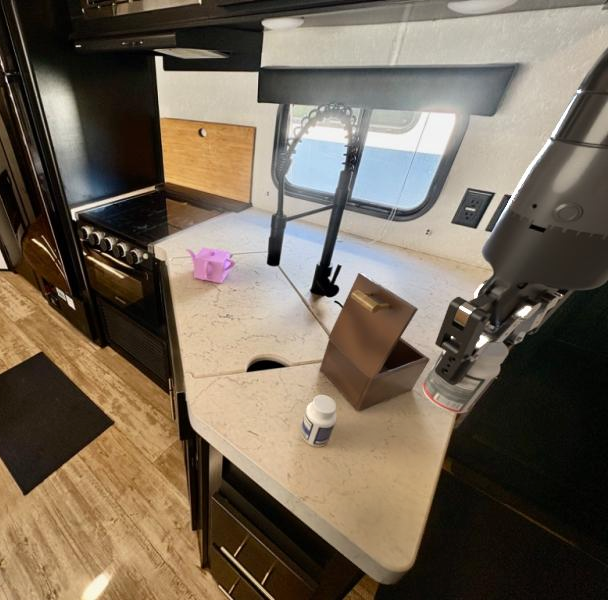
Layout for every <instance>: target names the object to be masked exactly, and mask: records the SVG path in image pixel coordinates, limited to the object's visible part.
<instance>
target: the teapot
mask: <svg viewBox="0 0 608 600" xmlns="http://www.w3.org/2000/svg"><path fill="white" fill-rule="evenodd" d="M185 251H186V252H188V253H189V255H190V257H191V262H192V264H193V278H194V279H198V280H201V281H210V282H213V283H215V284H216V283H218V284H222V283H223V282H224V280H225V279H226V277H227V275H228V274H229V272H230V269H233V268H234V267H235V265H236V261H235V260H234V259H231V252H230V251H227V250H222V249H220V248H216V249H215V248H210V247H204V246H203V247H202V248H201V249H200V250H199V251H198V252H197V253H196V254H195V252H194V251H193V250H192V249H188V248H186V249H185Z"/></svg>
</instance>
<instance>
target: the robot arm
mask: <svg viewBox="0 0 608 600" xmlns="http://www.w3.org/2000/svg"><path fill="white" fill-rule="evenodd" d="M481 254H482V257H483V259H484V260H485V261H486V262H487V263H488V264H489V265H490V267H491V268H492V271H493V274H491V275H490V276H489V277H488V279H485V280H484V281H483V282H482V283H481V284H480V285H479V286H478V288H476V290H475V291H474V293H473V295H474V297H473V298H472V299H471V300H466V299H465V298H463V297H461V296H456V297H454V298H453V299H452V300H451V301H450V303H449V304H448V306H447V309H446V312H445V315H444V318H443V321H442V323H441V326H440V329H439V332H438V334H437V337H436V340H435V341H434V342H435V343H434V344H435V345H436V346H437V347H438V348H440V349H442V350H445V351H446V352H445V354H444V355H443V357H442V358H441V360H440V362H439V363H438V365H437V366H436V368H435V372H436V374H437V375H439V376H440V377H441V378H442V379H444V380H445V381H446V382H448V383H449V384H451V385H456V384H458V383H460V382H461V381H462V380H463V378H464V377H465V375H466V374H467V373H468V371H469V370H470V368H471V367H472V366H473V364H474V363H475V361H476V360H477V359H478V358H479V357H480V355H481V354H482V353H483V352H484V351H485V350H486V349H487V348H488V346H489V345H490V344H491V343H501V342H503V343H504V344H505V345H506V347H507V348H508V351H510V350H511V348H512V347H513V346H514V345H517V344H519V343H521V342H522V341H523V340H524V337H525V335H526V334H527V335H530V336H531V335H533V334H536V333H537V332H539V329H540V328H541V327H542V326H543V325H544V323H546V321H547V320H548V319H549V318H550V317H551V316H552V315H553V314H554V313H555V312H556V311H557V310H558V308H559V307H560V306H561V305H562V304H563V303H564V302H565V301H566V300H567V299H568V298H569V297H570V296H571V295H572V293H574V292H576V291H588V290H593V289H596V288H599V287H601V286H602V285H605V283H607V281H608V46H607V47H606V48H605V49H604V50H603V52H602V53H601V54H599V56H598V58H597V59H596V60H595V62H594V63H593V64H592V66H591V67H590V69H589V70H588V71H587V72H586V75H585V76H584V77H583V79H582V81H581V82H580V84H579V86H578V87H577V89H576V91H575V93H574V94H573V96H572V98H571V99H570V101H569V103H568V105H567V106H566V108H565V110H564V112H563V113H562V115H561V116H560V119H559V120H558V122H557V124H556V125H555V127H554V128H553V131H552V132H551V135H550V137H549V138H548V140H547V141H546V143H545V144H544V146H543V147H542V149H541V150H540V152H539V153H538V154H537V156H536V157H535V158H534V159H533V160H532V162H531V163H530V165H529V166H528V168H527V169H526V171H525V173H524V174H523V176H522V178H521V179H520V181H519V182H518V184H517V186H516V188H515V189H514V192H513V193H512V195H511V197H510V198H509V200H508V203H507V204H506V206H505V207H504V209H503V211H502V213H501V214H500V216H499V218H498V220H497V222H496V223H495V225H494V227H493V229H492V231H491V232H490V234H489V236H488V238H487V239H486V241H485V243H484V245H483V247H482V249H481ZM486 326H488V327H486ZM479 338H480V341H479V342H478V340H479ZM477 342H478V343H477Z"/></svg>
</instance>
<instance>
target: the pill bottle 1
mask: <svg viewBox="0 0 608 600" xmlns="http://www.w3.org/2000/svg"><path fill="white" fill-rule="evenodd" d="M336 410H337V403H336V401H335V400H334V399H333V398H332V397H330V396H329V395H325V394H318V395H316V396H314V398H313V400H312V401H311V402H309V403H308V404H307V406H306V409H305V413H304V416H303V418H302V422H301V425H300V435H301V437H302V439H303V440H304V441H305V443H306V444H308V445H310V446H313V447H318V448H319V447H324V446H326V444H327V443H328V442H329V440H330V437H331V435H332V432H333V431H334V427H335V425H336V422H337V412H336Z"/></svg>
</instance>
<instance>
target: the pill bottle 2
mask: <svg viewBox="0 0 608 600" xmlns="http://www.w3.org/2000/svg"><path fill="white" fill-rule="evenodd" d="M479 341H480V338H479V340H478V342H479ZM478 342H477V343H478ZM509 351H510V350H509ZM509 351H508V348H507V347H506V345H505V344H504V343H503V342H501V343H491V344H490V345H489V346H488V348H487V349H486V350H485V351H484V352H483V353H482V354H481V355H480V357H479V358H478V359H477V360H476V361H475V363H474V364H473V366H472V367H471V368H470V370H469V371H468V373H467V374H466V375H465V377H464V378H463V380H462V381H461V382H460V383H458V384H456V385H451V384H449V383H448V382H446V381H445V380H444V379H442V378H441V377H440V376H439V375H437V374H436V372H435V368H436V366H437V365H438V363H439V362H440V360H441V358H442V357H443V355H444V354H445V352H446V351H445V350H444V349H442V351H441V352H440V354H439V356H438V358H437V360H436V361H435V363H434V364H433V366H432V367H431V369H430V371H429V373H428V374H427V376H426V377H425V379H424V381H423V383H422V387H421V388H422V392H423V394H424V395H425V397H426V398H427V400H428V401H430V403H432V405H434V406H436V407H437V408H438V409H441V410H443V411H446V412H449V413H453V414H466V413H468V412H470V410H472V408H473V407H474V406H475V404H476V403H477V402H478V401H479V400H480V398H481V397H482V395H483V394H484V393H485V392H486V391H487V389H488V388H489V387H490V385H491V384H492V383H493V382H494V380H495V379H496V378H497V377H498V375H500V372H501V364H503V363H504V361H505V359H506V358H507V357H508V355H509Z"/></svg>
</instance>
